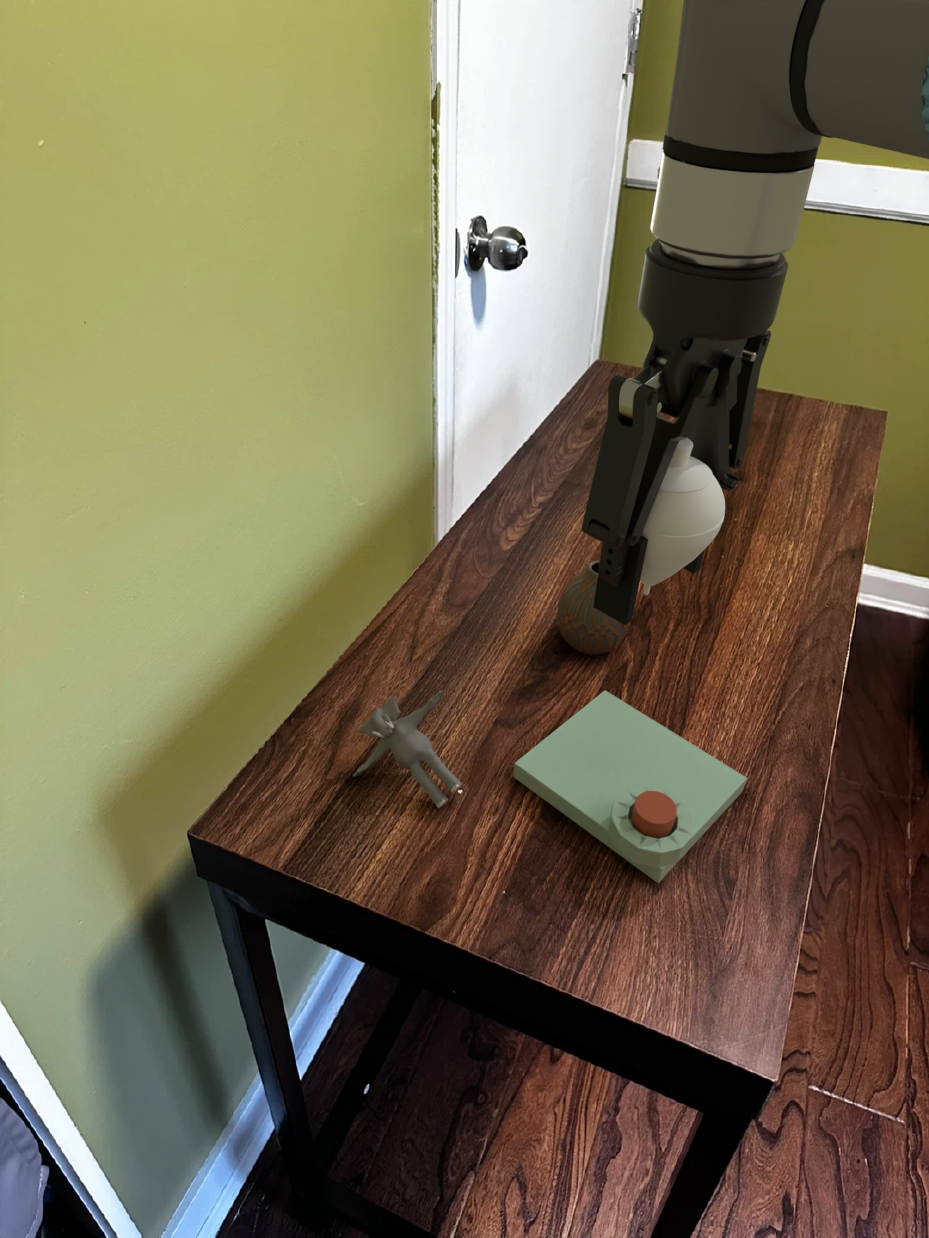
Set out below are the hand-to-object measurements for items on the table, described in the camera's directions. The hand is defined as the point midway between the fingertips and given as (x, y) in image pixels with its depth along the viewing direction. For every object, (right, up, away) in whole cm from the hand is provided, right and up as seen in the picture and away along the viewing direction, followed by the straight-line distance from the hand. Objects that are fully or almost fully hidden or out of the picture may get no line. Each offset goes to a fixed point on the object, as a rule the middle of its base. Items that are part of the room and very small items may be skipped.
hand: (648, 587), depth 60 cm
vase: (-1, -5, +23) cm, 23 cm away
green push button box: (0, -16, +9) cm, 18 cm away
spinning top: (0, -1, +1) cm, 1 cm away
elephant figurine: (-17, -15, +10) cm, 24 cm away
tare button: (+1, -17, +2) cm, 17 cm away
